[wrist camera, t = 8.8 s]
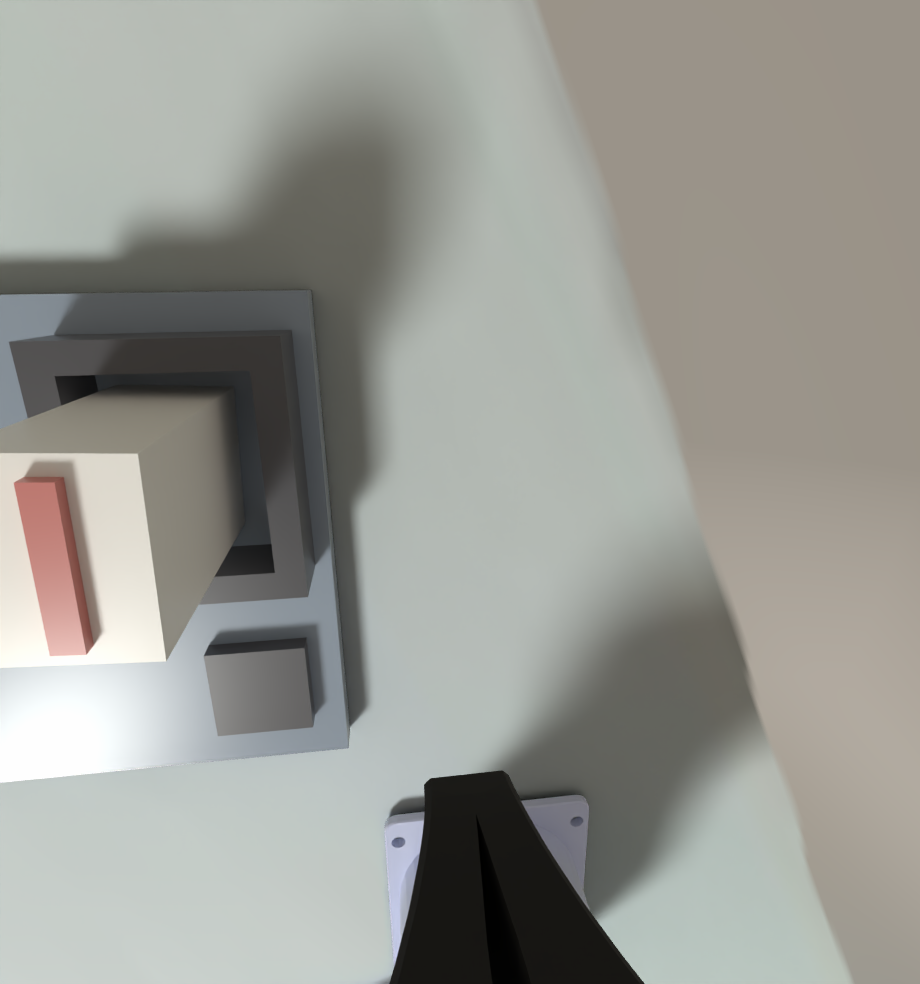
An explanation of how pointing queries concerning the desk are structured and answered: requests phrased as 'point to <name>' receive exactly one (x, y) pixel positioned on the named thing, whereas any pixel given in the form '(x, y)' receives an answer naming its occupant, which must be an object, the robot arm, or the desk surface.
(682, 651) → the desk surface
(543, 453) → the desk surface
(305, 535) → the frame
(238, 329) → the board
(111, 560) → the plug
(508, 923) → the robot arm
